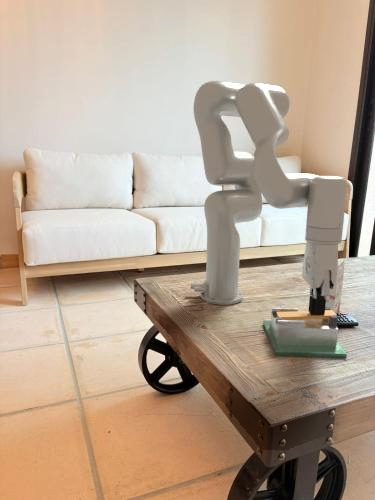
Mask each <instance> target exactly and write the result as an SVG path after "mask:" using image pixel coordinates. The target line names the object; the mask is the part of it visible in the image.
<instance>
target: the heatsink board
mask: <svg viewBox="0 0 375 500" xmlns="http://www.w3.org/2000/svg"><path fill="white" fill-rule="evenodd" d="M325 310H331V309H330V308H329V307H325ZM291 311H299V310H298V308H297V307H296V308H295V307H294V308H293V307H292V308H291V307H290V308H289V307H271V311H270V317H269V318H270V319H269V320H263V323H262V325H263V328H264V331H265V333H266V335H267V337H268V341H269V343H270V346H271V348H272V351H273V354H274V357H286V358H287V357H289V358H290V357H291V358H292V357H293V358H294V357H295V358H321V359H322V358H329V359H347V356H348V354H347V352H346V351H345V350H344V348H343V347H342V345H341V344H340V343H339V341H338V336H339V328H338V321H339V320H338V315H337V316H330V319H311V320H282V318H279V317H277V312H291Z"/></svg>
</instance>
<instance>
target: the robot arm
mask: <svg viewBox="0 0 375 500" xmlns="http://www.w3.org/2000/svg"><path fill="white" fill-rule="evenodd" d="M193 101H194V102H193V116H194V117H193V118H194V121H195V125H196V128H197V130H198V134H199V135H198V136H199V139H200V145H201V146H200V147H201V153H202V162H203V169H204V174H205V179H206V181H207V182H208V184H210V185H212V186H221V187H223V186H225V187H227V186H234V189H225V190H224V189H220V190H217V191H214V192H211V193H210V194H209V195H208V196H207V197H206V198H205V201H204V205H203V209H204V210H203V211H204V217H205V224H206V263H205V264H206V265H205V266H206V267H205V268H206V269H205V279H204V281H203V282H202V281H201V282H200V283H196V282H191V283H190V290H194V292H198V293H199V292H200V295H199V296H200V299H201V300H203V301H204V302H206V303H208V304H213V305H219V306H223V305H224V306H226V305H227V306H228V305H234V304H238V303H240V302H242V300H243V299H244V294H243V293H242V291H240V290H239V276H240V275H239V274H240V252H241V237H240V233H239V231H238V229H237V227H236V224H240V223H248V222H253V221H255V220H257V219H258V218H259V216H260V215H261V213H262V210H263V198H264V200H265V201H266V202H267V204H269V205H270V206H271V207H273V208H274V209H291V208H292V209H293V208H305V207H307V213H306V225H305V235H304V241H306V243H305V249H304V254H303V265H302V270H301V271H302V272H301V276H302V279H303V280H304V281H305V282H306V284H308V286H309V300H308V310H307V311H309V313H310V314H311V315H324V314H325V305H326V298H327V296H329V288H330V289H333V288H334V287H335V285H336V279H337V268H338V265H339V245H340V244H341V243H342V242H343V241H342V240H343V233H344V231H343V230H344V223H345V222H344V221H345V212H346V211H345V210H346V201H347V194H348V181H347V180H346V179H347V178H345V177H342V176H338V175H337V176H335V175H318V174H313V173H305V172H304V173H284V171H283V168H282V167H281V165H280V162H279V161H278V158H277V155H276V150H278V149H279V148H281V146H282V145H284V144H285V143H286V141H287V140H288V138H289V136H290V129H289V128H288V126H287V125H286V124H287V123H286V122H285V120H284V118H285V117H286V116H287V114H288V113H289V110H290V105H291V104H290V103H291V101H290V97H289V94H288V93H287V92H286V91H285V90H284V89H283V87H280V86H278V85H271V84H265V83H257V82H251V83H247V84H243V83H237V82H230V81H225V80H211V81H207V82H204V83H203V84H201V85H200V87H199V88H198V90H197V91H196V93H195V96H194V100H193ZM222 116H226V117H238V118H240V119H241V121H242V123H243V125H244V127H245V128H246V131H247V132H248V135H249V136H250V139H251V141H252V143H253V145H254V148H255V149H254V150H255V151H254V152H253V156H252V155H251V153H249V152H246V151H235V150H234V148H233V143H232V135H231V132H230V130H229V128H228V126H227V124H226V123H225V121H224V120H223V119H222Z"/></svg>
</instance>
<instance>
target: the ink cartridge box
mask: <svg viewBox="0 0 375 500" xmlns="http://www.w3.org/2000/svg"><path fill="white" fill-rule="evenodd" d="M344 274H345V259H342V261H340V263H338V268H337V279H336V285H335V287H334V288H333V289H330V288H329V296H327V298H326V305H325V307H329V308H330V309H331V310H333V311H334V313H335V314H336V313H337V314H338V312H339V311H340V309H341V299H342V290H343V281H344ZM337 314H336V315H337Z"/></svg>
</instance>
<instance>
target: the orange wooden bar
mask: <svg viewBox="0 0 375 500" xmlns="http://www.w3.org/2000/svg"><path fill="white" fill-rule="evenodd" d="M330 316H337V317H338V315H337V314H335V313H334V311H333V310H325V314H324V315H311V314H310V313H309V311H308V310H298V311H291V312H277V317H279V318H282V320H311V319H330Z"/></svg>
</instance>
